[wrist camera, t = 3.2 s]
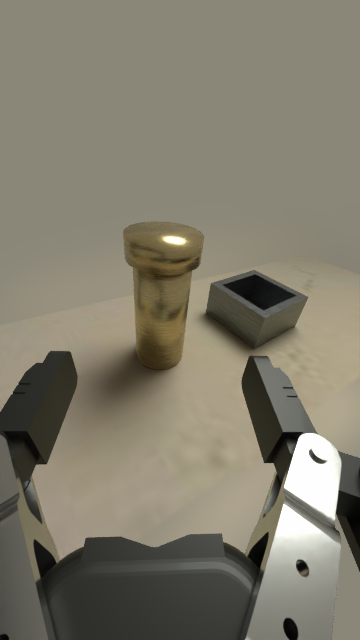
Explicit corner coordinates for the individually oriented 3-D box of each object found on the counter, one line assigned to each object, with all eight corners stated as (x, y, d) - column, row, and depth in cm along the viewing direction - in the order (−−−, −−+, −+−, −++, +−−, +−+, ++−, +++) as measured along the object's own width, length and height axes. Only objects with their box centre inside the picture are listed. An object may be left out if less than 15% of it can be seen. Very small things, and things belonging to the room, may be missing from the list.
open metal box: (253, 348, 28) (265, 318, 25) (205, 311, 33) (211, 283, 31) (295, 325, 32) (308, 297, 30) (246, 296, 38) (254, 270, 35)
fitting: (149, 384, 23) (149, 253, 15) (121, 345, 27) (109, 226, 19) (198, 359, 26) (220, 240, 18) (167, 328, 30) (174, 218, 22)
